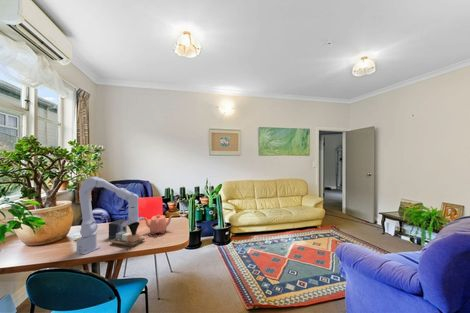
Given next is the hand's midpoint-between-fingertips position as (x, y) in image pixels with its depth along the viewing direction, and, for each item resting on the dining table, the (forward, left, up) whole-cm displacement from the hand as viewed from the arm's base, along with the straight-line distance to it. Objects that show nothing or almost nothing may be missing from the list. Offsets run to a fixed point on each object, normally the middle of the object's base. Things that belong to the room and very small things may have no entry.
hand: (133, 234), depth 134 cm
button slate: (0, +11, -4) cm, 12 cm away
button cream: (0, +6, -4) cm, 7 cm away
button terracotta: (0, 0, -4) cm, 4 cm away
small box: (+7, +23, -7) cm, 24 cm away
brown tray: (0, +6, -6) cm, 8 cm away
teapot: (+23, +1, -7) cm, 24 cm away
